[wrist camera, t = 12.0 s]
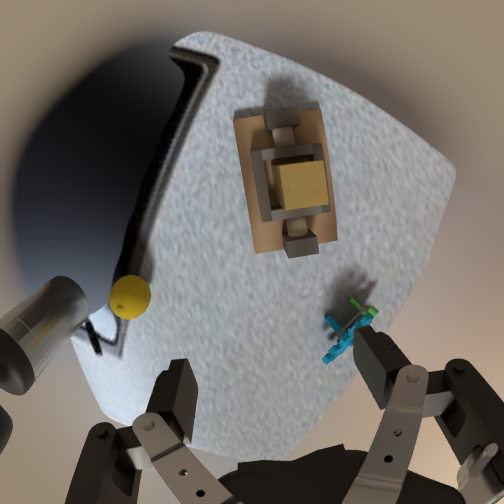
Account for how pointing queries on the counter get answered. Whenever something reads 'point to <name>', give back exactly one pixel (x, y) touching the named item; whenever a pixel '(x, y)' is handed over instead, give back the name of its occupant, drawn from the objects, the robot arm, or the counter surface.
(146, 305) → the lemon
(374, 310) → the blue-green animal figure
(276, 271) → the counter surface
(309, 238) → the shaft rig
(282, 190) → the block
